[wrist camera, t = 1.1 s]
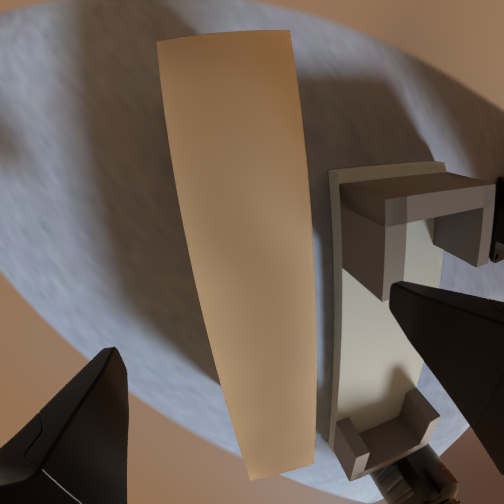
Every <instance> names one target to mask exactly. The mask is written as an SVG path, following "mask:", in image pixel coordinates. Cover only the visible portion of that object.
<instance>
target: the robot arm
mask: <svg viewBox="0 0 504 504" xmlns="http://www.w3.org/2000/svg"><path fill="white" fill-rule="evenodd" d="M503 259H504V176H503V177H499V178H498V181H497V194H496V209H495V220H494V229H493V238H492V245H491V252H490V261H492V262H494V263H497V262H499V261H501V260H503ZM389 309H390V311H391V313H392V315H393V316H394V318H395V319H396V321H397V323H398V324H399V326H400V327H401V329H402V331H403V332H404V334H405V336H406V337H407V339H408V340H409V342H410V343H411V345H412V346H413V347H414V349H415V350H416V351H417V353H418V354H419V355H420V357H421V358H422V359H423V361H424V362H425V363H426V365H427V366H428V367H429V369H430V370H431V371H432V373H433V374H434V375H435V377H436V378H437V379H438V381H439V382H440V383H441V385H442V386H443V388H444V389H445V390H446V392H447V393H448V395H449V396H450V397H451V399H452V400H453V402H454V403H455V404H456V406H457V407H458V409H459V410H460V412H461V413H462V415H463V416H464V417H465V419H466V420H467V422H468V423H469V425H470V426H471V428H472V429H473V430H474V433H475V434H476V436H477V437H478V438H479V440H480V442H481V443H482V445H483V446H484V448H485V449H486V451H487V453H488V454H489V456H490V457H491V459H492V461H493V462H494V464H495V465H496V467H497V469H498V470H499V472H500V473H501V474H502V475H504V302H500V301H496V300H491V299H489V300H488V299H486V298H481V297H477V296H472V295H467V294H463V293H458V292H453V291H449V290H444V289H439V288H435V287H430V286H425V285H421V284H416V283H411V282H406V281H398V282H395V283H393V284H392V285H391V287H390V296H389ZM128 425H129V404H128V380H127V369H126V367H125V364H124V362H123V360H122V358H121V356H120V354H119V351H118V350H117V348H115V347H110V348H104V349H102V350H101V351H100V352H99V353H98V354H97V355H96V356H95V357H94V358H93V359H92V360H91V361H90V362H89V363H88V364H87V365H86V366H85V367H84V368H83V369H82V370H81V371H80V372H79V373H78V374H77V375H76V376H75V377H74V378H73V379H72V380H71V381H70V382H68V383H67V384H66V386H64V387H63V389H62V390H60V391H59V392H58V393H57V394H56V395H55V396H54V397H53V398H52V399H51V400H50V401H49V402H48V403H47V404H46V406H45V407H43V408H42V409H41V410H40V412H39V413H38V414H36V415H35V416H34V418H33V419H32V420H31V421H30V422H29V423H28V424H26V426H25V427H23V428H22V429H21V430H20V431H19V432H18V433H17V434H16V435H15V436H14V437H13V438H11V439H10V440H9V441H8V442H7V443H6V444H5V445H3V446H2V447H1V448H0V504H127V446H128Z"/></svg>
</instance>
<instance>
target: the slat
mask: <svg viewBox="0 0 504 504" xmlns="http://www.w3.org/2000/svg"><path fill="white" fill-rule="evenodd" d="M156 44H157V54H158V63H159V72H160V81H161V89H162V97H163V105H164V112H165V119H166V127H167V133H168V140H169V147H170V153H171V159H172V165H173V171H174V177H175V183H176V189H177V194H178V200H179V205H180V211H181V216H182V221H183V226H184V231H185V236H186V241H187V246H188V251H189V256H190V261H191V265H192V270H193V274H194V279H195V283H196V288H197V292H198V297H199V301H200V305H201V309H202V314H203V318H204V322H205V326H206V330H207V334H208V338H209V342H210V346H211V350H212V354H213V357H214V361H215V365H216V369H217V372H218V376H219V380H220V383H221V387H222V391H223V394H224V398H225V401H226V405H227V408H228V411H229V415H230V418H231V422H232V425H233V428H234V431H235V435H236V438H237V441H238V444H239V447H240V451H241V454H242V457H243V460H244V463H245V466H246V469H247V472H248V475H249V478H250V480H256V479H260V478H264V477H269V476H272V475H277V474H281V473H284V472H288V471H291V470H295V469H298V468H302V467H305V466H308V465H311V464H314V455H315V431H316V389H317V341H316V297H315V271H314V251H313V234H312V219H311V205H310V192H309V180H308V169H307V159H306V149H305V139H304V130H303V122H302V113H301V105H300V97H299V90H298V82H297V75H296V68H295V62H294V55H293V49H292V42H291V36H290V30H256V31H236V32H222V33H212V34H202V35H194V36H187V37H180V38H174V39H168V40H162V41H157V42H156Z"/></svg>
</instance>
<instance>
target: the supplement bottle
mask: <svg viewBox="0 0 504 504" xmlns="http://www.w3.org/2000/svg"><path fill="white" fill-rule="evenodd" d="M370 476H371V477H372V479H373V481H374V483H375V484H376V486H377V487H378V489H379V491H380V492H381V494H382V496H383V497H384V499H385V501H386V502H387V504H461V502H460V500H459V501H456V500H455V496H456V494H457V492H458V489H459V484H458V481H457V480H456V479H455V477H454V476H453V475H452V473H451V472H450V471H449V469H448V468H447V467H446V465H445V464H444V463H443V462H442V460H441V459H440V458H439V457H438V455H437V454H436V453H435V451H434V450H433V449H432V448H431V446H430V445H429V444H428V443H427V445H425V446H423V447H422V448H420V449H418V450H416V451H414V452H413V453H411V454H409V455H407V456H405V457H403V458H401V459H399V460H397V461H395V462H393V463H391V464H389V465H387V466H385V467H383V468H381V469H379V470H376V471H374V472H372V473H370Z"/></svg>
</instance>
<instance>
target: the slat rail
mask: <svg viewBox="0 0 504 504" xmlns="http://www.w3.org/2000/svg"><path fill="white" fill-rule="evenodd" d="M328 175H329V187H330V202H331V218H332V238H333V267H334V352H333V380H332V399H331V415H330V428H329V440H328V444H329V446H330V448H331V450H332V452H335V454H336V456H337V458H338V460H339V462H340V464H341V466H342V468H343V470H344V472H345V474H346V476H347V478H348V479H349V481H353V480H355V479H358V478H360V477H363V476H365V475H367V474H370V473H372V472H374V471H376V470H379V469H381V468H383V467H385V466H387V465H389V464H391V463H393V462H395V461H397V460H399V459H401V458H403V457H405V456H407V455H409V454H411V453H413V452H414V451H416V450H418V449H420V448H422V447H423V446H425V445H427V443H428V441H429V439H430V437H431V435H432V433H433V431H434V429H435V427H436V425H437V423H438V421H439V419H440V415H439V414H438V412H437V411H436V410H435V409H434V408H433V407H432V405H431V404H430V403H429V402H428V401H427V400H426V398H425V397H424V396H423V395H422V394H421V393H420V392H419V390H418V389H417V388H416V387H417V383H418V380H419V376H420V373H421V369H422V366H423V362H424V361H423V359H422V358H421V357H420V355H419V354H418V353H417V351H416V350H415V349H414V347H413V346H412V345H411V343H410V342H409V340H408V339H407V337H406V336H405V334H404V332H403V331H402V329H401V327H400V326H399V324H398V323H397V321H396V319H395V318H394V316H393V315H392V313H391V311H390V309H389V296H390V287H391V285H392V284H393V283H395V282H398V281H406V282H411V283H416V284H421V285H425V286H430V287H435V288H439V283H440V276H441V268H442V260H443V251H444V250H445V251H447V252H449V253H451V254H452V255H454V256H456V257H458V258H460V259H462V260H464V261H466V262H467V263H469V264H471V265H473V266H475V267H476V268H477V267H479V266H482V265H484V264H486V263H488V257H489V250H490V243H491V236H492V227H493V217H494V205H495V187H496V184H493V183H489V182H486V181H482V180H478V179H474V178H470V177H466V176H462V175H457V174H453V173H449V172H447V163H444V162H438V161H425V162H410V163H396V164H384V165H373V166H363V167H353V168H344V169H335V170H328Z"/></svg>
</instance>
